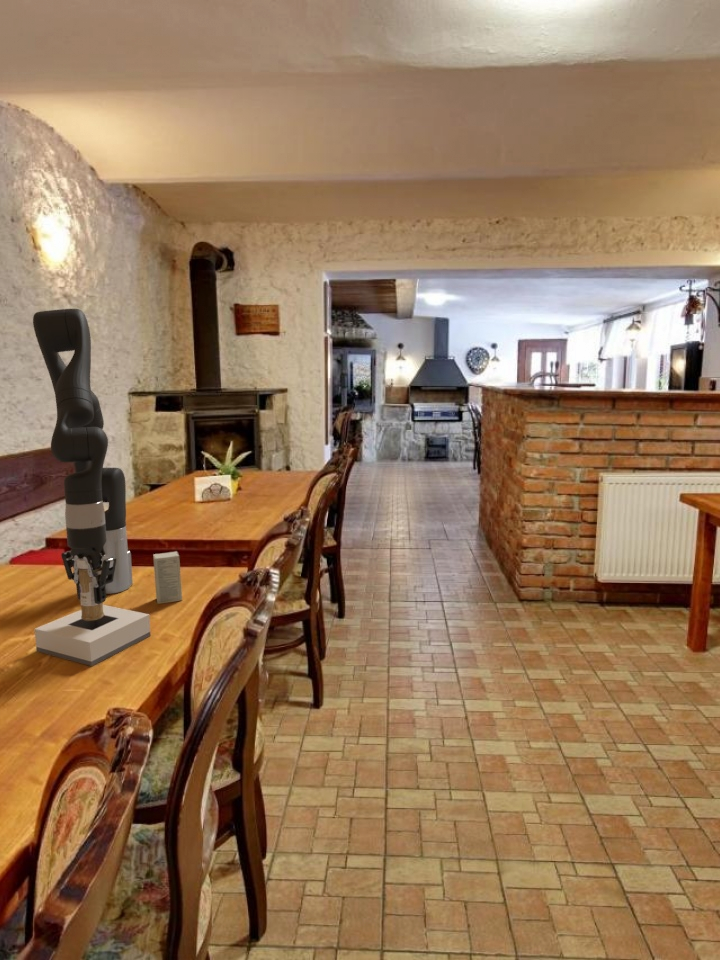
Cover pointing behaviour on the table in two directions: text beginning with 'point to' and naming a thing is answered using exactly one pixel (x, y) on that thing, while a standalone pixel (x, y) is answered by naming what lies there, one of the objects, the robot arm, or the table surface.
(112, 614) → the socket block
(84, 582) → the sprinkles bottle
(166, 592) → the skincare box
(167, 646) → the table surface
